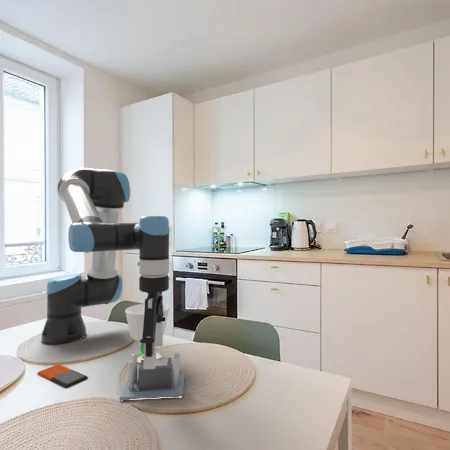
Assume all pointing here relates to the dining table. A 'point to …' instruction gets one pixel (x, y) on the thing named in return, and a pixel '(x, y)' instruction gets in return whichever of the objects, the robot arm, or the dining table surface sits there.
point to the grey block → (156, 375)
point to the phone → (62, 375)
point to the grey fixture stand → (175, 391)
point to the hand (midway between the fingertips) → (153, 356)
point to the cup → (140, 322)
